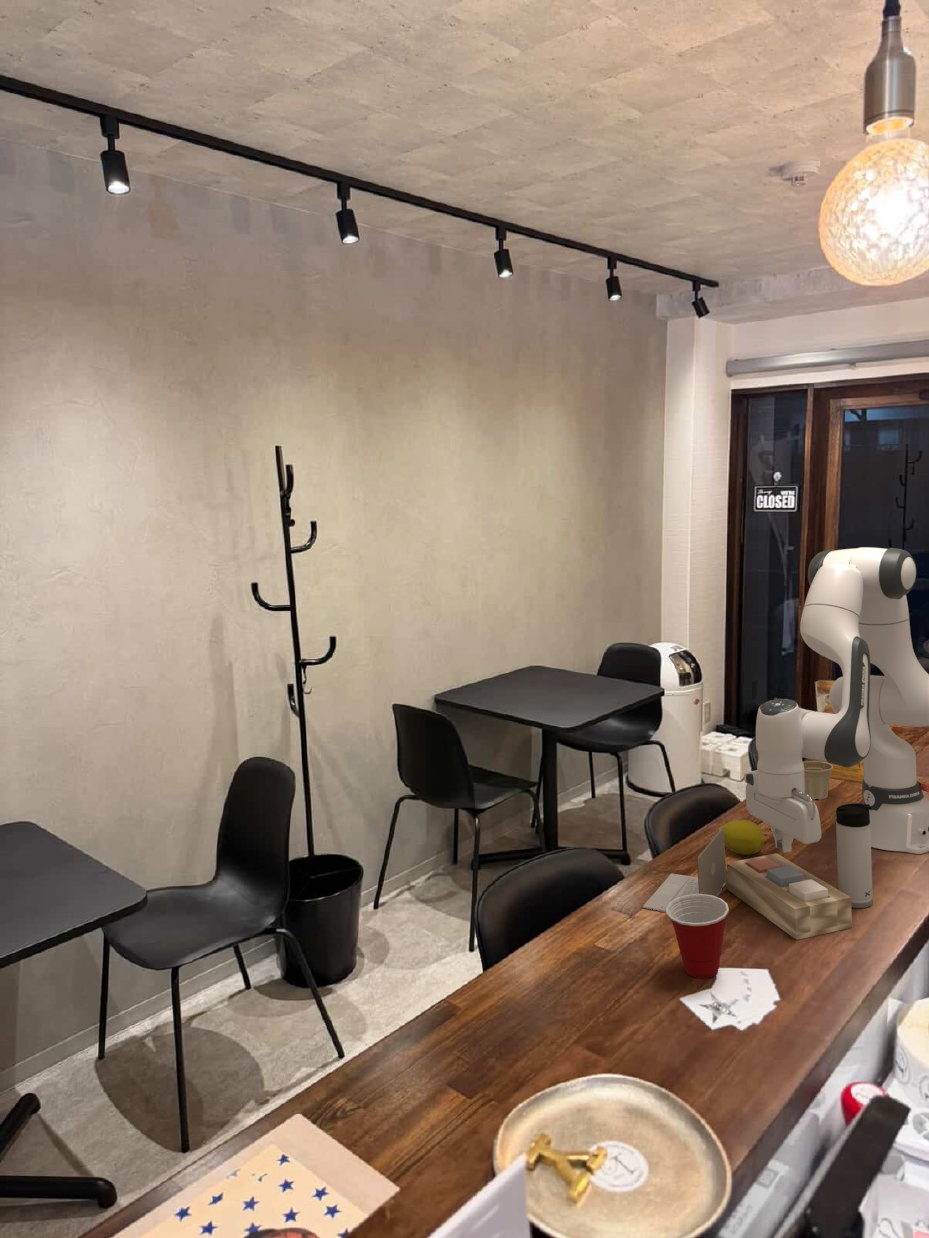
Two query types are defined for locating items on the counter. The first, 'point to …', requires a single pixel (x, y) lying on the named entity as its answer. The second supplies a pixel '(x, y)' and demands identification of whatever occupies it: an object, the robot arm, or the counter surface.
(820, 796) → the flower pot
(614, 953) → the counter surface
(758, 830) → the lemon
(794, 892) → the white key
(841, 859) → the travel mug
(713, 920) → the plastic cup
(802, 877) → the slate key
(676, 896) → the laptop
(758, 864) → the red key
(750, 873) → the key panel
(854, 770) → the pancake mix bag
